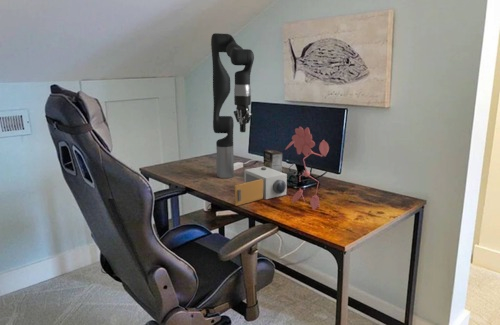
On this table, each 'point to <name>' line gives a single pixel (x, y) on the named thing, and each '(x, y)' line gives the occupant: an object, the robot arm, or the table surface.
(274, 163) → the coffee box
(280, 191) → the camera body
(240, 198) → the side door
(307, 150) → the pink flower figure
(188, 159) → the table surface
